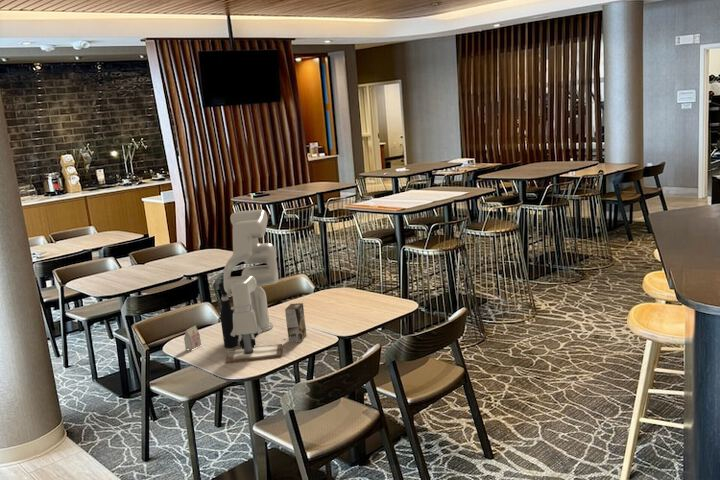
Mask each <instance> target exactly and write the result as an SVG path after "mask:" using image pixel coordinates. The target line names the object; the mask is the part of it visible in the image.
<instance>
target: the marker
mask: <svg viewBox="0 0 720 480" xmlns="http://www.w3.org/2000/svg"><path fill="white" fill-rule="evenodd" d="M242 339H243V346H244V354H252V353H253V352H254V351H253V348H252V342H251V339H252V336H251V334H245V335H242Z"/></svg>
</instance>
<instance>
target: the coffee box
mask: <svg viewBox="0 0 720 480" xmlns="http://www.w3.org/2000/svg"><path fill="white" fill-rule="evenodd" d="M284 311H285V313H284V314H285V318H286V319H285V321H286V327H287V328H286V329H287V337H288V338H287V339H288V343H302V342H304V340H305V338H306V337H307V336H308V335H307V326H306V320H305V319H306V318H305V309H304V303H303V302H299V303H290V304H289V305H288V306H287V307H286V308H285V309H284Z"/></svg>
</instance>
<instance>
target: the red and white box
mask: <svg viewBox="0 0 720 480" xmlns="http://www.w3.org/2000/svg"><path fill="white" fill-rule="evenodd" d="M183 341H184V346H185V347H184V348H185V350H186V349H189V350H192V349H194V348H196V347H198V346H200V345H201V346H202V341H201V334H200V333H199V330H198V328H197V325H194V326H191V327H190V328H188V329H186V330H185V333H184V337H183ZM201 346H200V347H201ZM198 348H199V347H198Z"/></svg>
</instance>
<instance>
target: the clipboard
mask: <svg viewBox="0 0 720 480" xmlns="http://www.w3.org/2000/svg"><path fill="white" fill-rule="evenodd" d="M253 351H254V352H253V353H252V354H244V349H242V348H236V349H234V348H232V349H229V350H228V353H227V356H226V359H225V364H234V362H235V363H241V362H242V363H243V362H251V361H260V360H269V359H275V358H282V353H283V343H278V344H269V345H261V346H260V345H259V346H254V348H253Z"/></svg>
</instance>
